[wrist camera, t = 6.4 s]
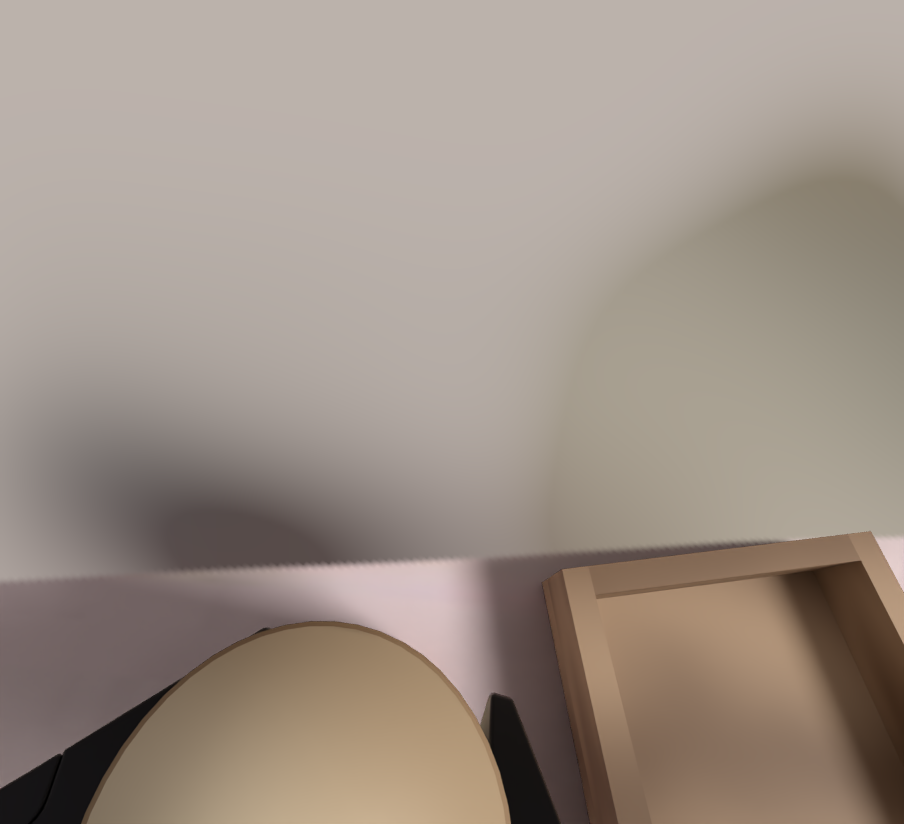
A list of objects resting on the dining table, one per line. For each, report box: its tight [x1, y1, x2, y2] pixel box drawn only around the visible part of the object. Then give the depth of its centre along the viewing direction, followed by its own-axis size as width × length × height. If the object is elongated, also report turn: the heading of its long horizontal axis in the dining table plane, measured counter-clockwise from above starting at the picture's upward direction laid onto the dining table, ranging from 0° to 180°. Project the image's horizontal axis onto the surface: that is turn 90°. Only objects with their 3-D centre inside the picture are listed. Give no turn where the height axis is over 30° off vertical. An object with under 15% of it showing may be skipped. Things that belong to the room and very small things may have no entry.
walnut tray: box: [542, 531, 904, 824], centre depth 13 cm, size 12×10×3 cm
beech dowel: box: [81, 621, 511, 824], centre depth 9 cm, size 4×4×11 cm
